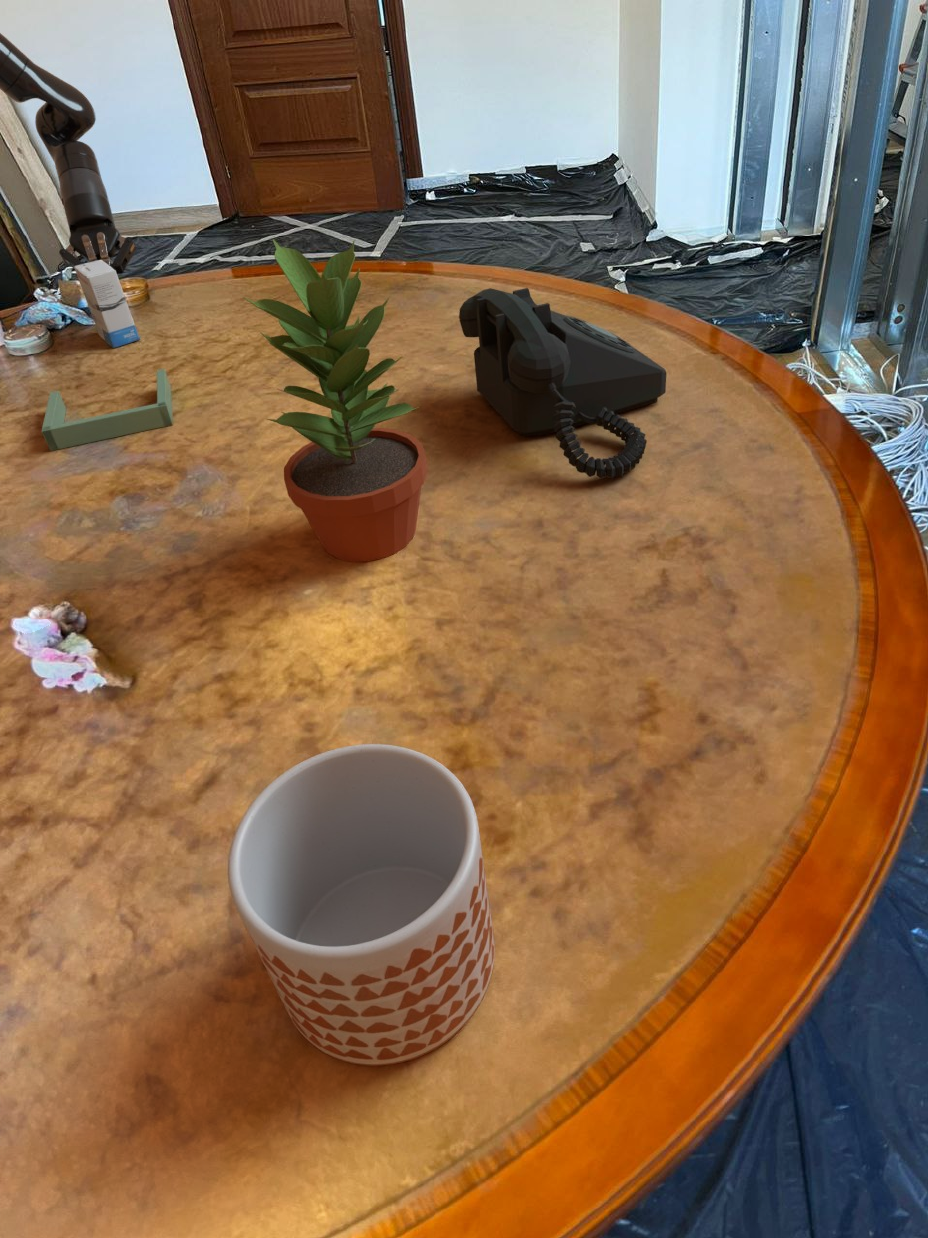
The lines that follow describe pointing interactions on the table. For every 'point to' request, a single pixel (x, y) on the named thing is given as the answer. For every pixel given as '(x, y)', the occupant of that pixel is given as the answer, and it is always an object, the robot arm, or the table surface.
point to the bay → (106, 420)
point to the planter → (367, 901)
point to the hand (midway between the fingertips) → (109, 296)
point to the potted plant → (345, 418)
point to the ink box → (107, 303)
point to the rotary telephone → (559, 375)
